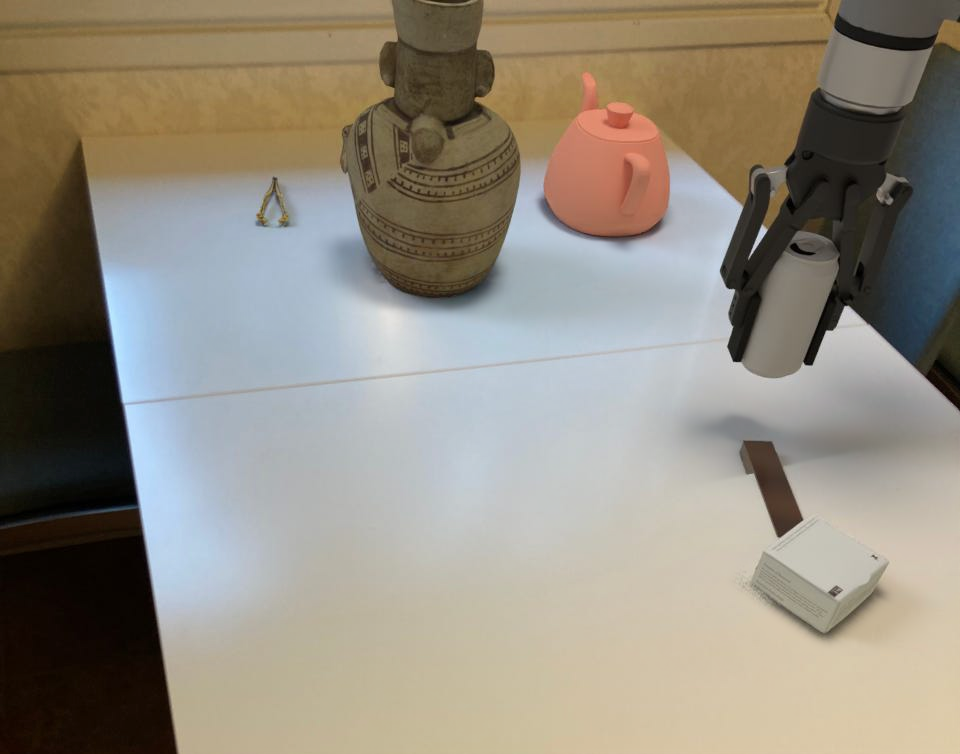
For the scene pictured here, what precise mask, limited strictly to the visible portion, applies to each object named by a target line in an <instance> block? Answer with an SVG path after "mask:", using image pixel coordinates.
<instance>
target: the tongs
mask: <svg viewBox="0 0 960 754" xmlns="http://www.w3.org/2000/svg"><path fill="white" fill-rule="evenodd" d="M278 181H279V180H278V176H273V177H272V180H271V185H270V187H269V189H268V190H267V191H266V192H265V194H264V195H263V197H262V202H261V205H260V209H259V211H258V212H257V213H256V214H255V217H256V219H257V221H259V222H260V224H261V225H262V226H265V225H267V224H268V218H266V217H265V215H264V214H265V211H266V210H267V209H268V202H269V200H270V198H271V197H272V195H273V194H274V192H275V194H276V195H277V197H278V200H279V203H280V208H281V210H282V214H283V216H281V217H280V218H278V219H277V222H278V224H279V225H280V226H281V227H283V226H285V225H286V223H287V222H288V221H289V220H290V214H288V212H287V208H286V205H285V200H284V195H283V194H282V193H283V192H281V189H280V188H279V184H278V183H279V182H278Z"/></svg>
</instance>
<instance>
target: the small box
mask: <svg viewBox="0 0 960 754" xmlns="http://www.w3.org/2000/svg"><path fill="white" fill-rule="evenodd" d="M889 563H890V561H889V560H888V559H887V558H886V557H885V556H883V555H881V554H880V553H878V552H877V551H875V550H874V549H872V548H871V547H870V546H867V545H866V544H864V543H862V542H860V540H857V539H856V538H854V537H852V536H851V535H849V534H847V533H846V532H844V531H843V530H841V529H839V528H837V527H836V526H834V525H833V524H831V523H829V522H828V521H826V520H825V519H823V518H822V517H820V516H819V515H816V514H815V513H811V514H810V515H808V516H807V517H806V518H803V521H802V522H800V523H799V524H798V525H796V526H795V527H794V528H792V529H791V530H790V531H788V532H787V533H786V534H785V535H783V536H782V537H781V538H777V540H775V541H774V542H773V543H772V544H770V545H769V546H768V547H766V548H765V549H764V550H763V551H762V552H761V555H760V558H759V561H758V563H757V565H756V567H755V569H754V573H753V574H752V578H751V580H750V582H749V583H750V584H751V585H752V586H753V587H755V588H756V589H758V590H759V591H760V592H761V593H763V594H765V595H766V596H767V597H769V598H770V599H771V600H773V601H774V602H776V603H777V604H779V605H780V606H782V607H783V608H784V609H786V610H787V611H789V612H791V614H793V615H795V616H796V617H798V618H799V619H800V620H802V621H803V622H805V623H807V624H808V625H810V627H813V628H814V629H815V630H818V631H819V632H821V633H822V634H827V633H828V632H829V631H830V630H832V629H834V628H835V627H836V626H837V625H838V624H839V623H840V622H842V621H843V620H844V619H845V618H846V617H848V616H849V615H850V614H851V613H852V612H853V611H854V610H856V609H857V608H858V607H859V606H860V605H861V604H862V603H863V602H864V601H865V600H867V599H868V598H869V597H870V596H871V595H872V594H873V592H874V590H875V589H876V587H877V585H878V583H879V581H880V580H881V578H882V576H883V574H884V573H885V571H886V570H887V567H888V566H889Z"/></svg>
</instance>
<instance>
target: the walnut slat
mask: <svg viewBox="0 0 960 754" xmlns="http://www.w3.org/2000/svg"><path fill="white" fill-rule="evenodd" d="M739 455H740V458H741V460H742V463H743V466H744V469H745V471H746V475H752V474H753V475H754V478H755V479H756V480H755V481H756V483H757V486H758V488H759V491H760V493H761V497H762V499H763V502H764V505H765V507H766V510H767V513H768V516H769V518H770V521H771V524H772V527H773V530H774V533H775V535H776V537H777V539H779V538H781V537H782V536H783V535H785V534H786V533H787V532H788V531H790V530H791V529H792V528H794V527H795V526H796V525H798V524H799V523H800V522H802V521H803V520H804V517H803V516H802V512H801V510H800V507H799V505H798V502H797V500H796V497H795V495H794V492H793V490H792V487H791V485H790V482H789V480H788V477H787V476H786V472H785V470H784V468H783V464H782V463H781V460H780V457H779V455H778V453H777V450H776V447H775V445H774V443H773V441H771V440H751V439H750V440H749V439H747V440H745V439H744V440H742V443H741V446H740V449H739Z"/></svg>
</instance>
